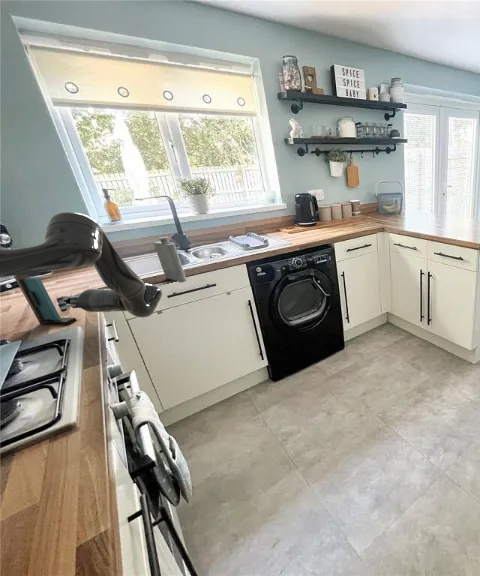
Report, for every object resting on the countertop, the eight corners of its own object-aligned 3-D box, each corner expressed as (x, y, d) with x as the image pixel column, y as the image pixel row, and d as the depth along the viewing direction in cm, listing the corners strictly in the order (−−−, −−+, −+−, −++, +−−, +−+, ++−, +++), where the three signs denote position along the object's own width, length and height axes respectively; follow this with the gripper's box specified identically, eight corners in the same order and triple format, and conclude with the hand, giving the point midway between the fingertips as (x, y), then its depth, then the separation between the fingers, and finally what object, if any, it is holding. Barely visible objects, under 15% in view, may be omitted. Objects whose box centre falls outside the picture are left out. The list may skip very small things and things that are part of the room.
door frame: (67, 325, 105) (39, 270, 98) (40, 324, 107) (10, 271, 100) (76, 320, 108) (50, 267, 101) (50, 320, 110) (22, 268, 103)
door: (53, 321, 105) (31, 280, 100) (40, 320, 106) (18, 280, 101) (63, 316, 108) (43, 276, 103) (51, 316, 109) (30, 276, 104)
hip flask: (164, 278, 148) (150, 237, 141) (173, 275, 151) (160, 235, 144) (180, 282, 139) (166, 239, 132) (190, 279, 142) (176, 237, 135)
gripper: (117, 282, 105) (76, 282, 108) (75, 297, 93) (30, 297, 96) (125, 302, 108) (85, 302, 111) (86, 320, 96) (42, 319, 99)
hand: (60, 300), depth 103 cm, fingers closed
